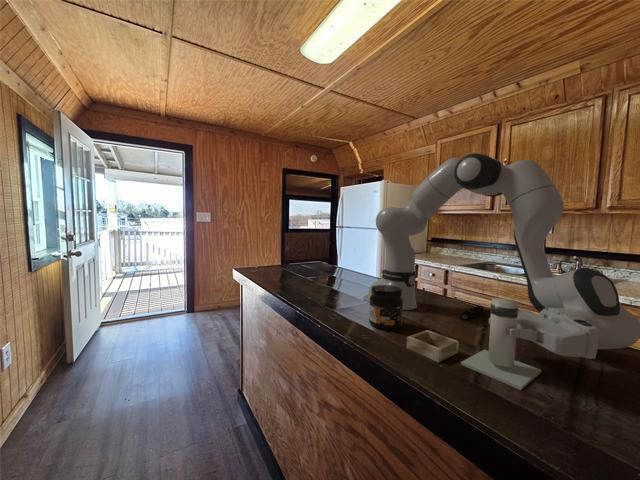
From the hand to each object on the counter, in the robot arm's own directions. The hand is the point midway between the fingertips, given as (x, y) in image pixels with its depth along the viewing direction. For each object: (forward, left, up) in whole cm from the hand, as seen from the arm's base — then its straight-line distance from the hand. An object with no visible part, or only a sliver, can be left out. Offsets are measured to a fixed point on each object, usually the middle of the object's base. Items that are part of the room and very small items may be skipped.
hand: (499, 326), depth 63 cm
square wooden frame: (-14, -4, -10) cm, 17 cm away
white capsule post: (+1, +1, -8) cm, 8 cm away
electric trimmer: (-21, +34, -10) cm, 42 cm away
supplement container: (-32, 0, -10) cm, 34 cm away
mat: (0, +1, -10) cm, 10 cm away
